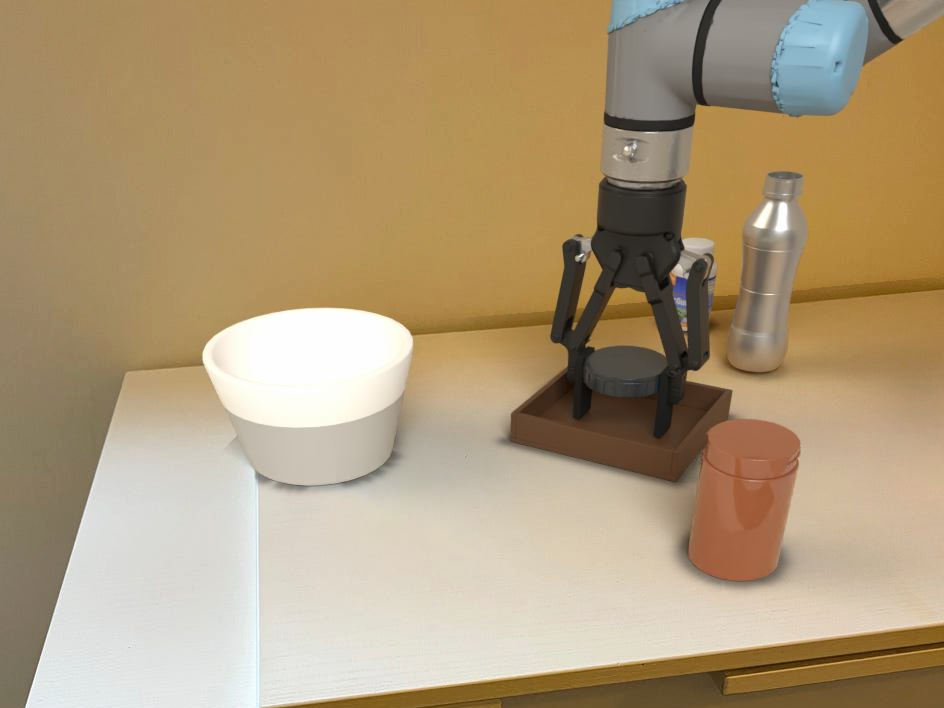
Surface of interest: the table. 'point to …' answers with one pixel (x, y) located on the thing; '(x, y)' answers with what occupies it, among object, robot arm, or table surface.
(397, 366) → the bowl
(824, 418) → the table surface
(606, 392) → the jar lid
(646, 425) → the tray
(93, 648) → the table surface
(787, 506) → the jam jar
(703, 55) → the robot arm
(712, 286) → the pill bottle
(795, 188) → the silver bottle
